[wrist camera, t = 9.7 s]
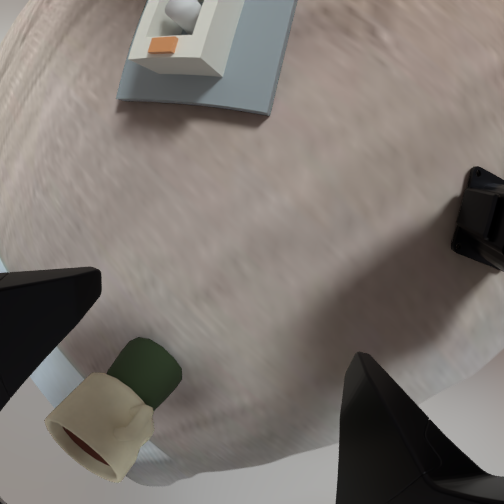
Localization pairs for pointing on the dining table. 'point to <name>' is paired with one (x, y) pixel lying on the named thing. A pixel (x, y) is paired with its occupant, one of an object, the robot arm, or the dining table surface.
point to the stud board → (237, 67)
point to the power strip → (186, 39)
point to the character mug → (115, 409)
